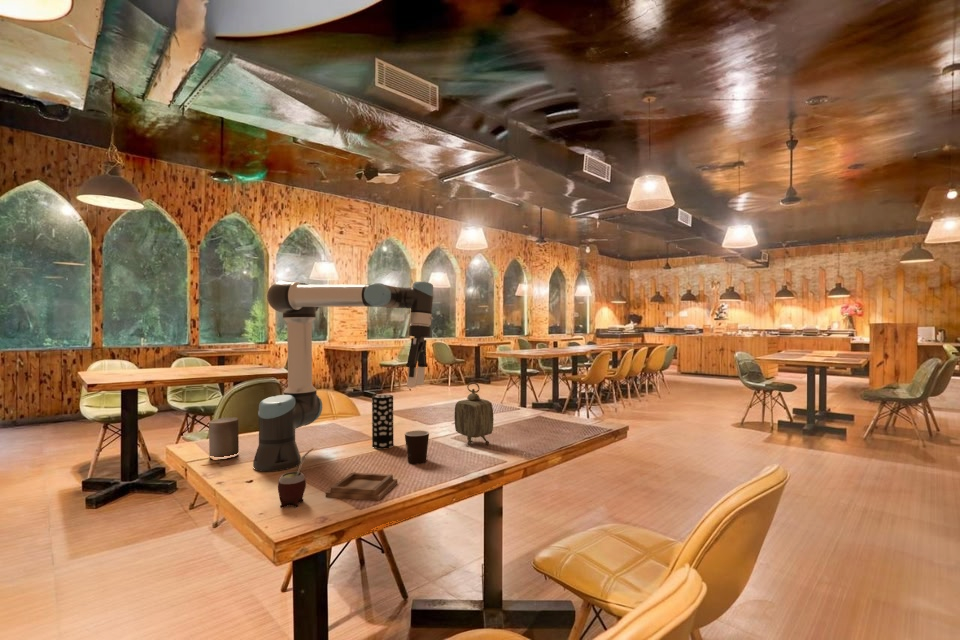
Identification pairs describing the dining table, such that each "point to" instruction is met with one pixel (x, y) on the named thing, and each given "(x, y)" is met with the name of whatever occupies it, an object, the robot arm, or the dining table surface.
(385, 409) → the spotted tube
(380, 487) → the walnut stand
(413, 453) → the coffee mug
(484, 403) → the tabletop clock
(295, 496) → the mate gourd
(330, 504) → the dining table surface
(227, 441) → the pillar candle
